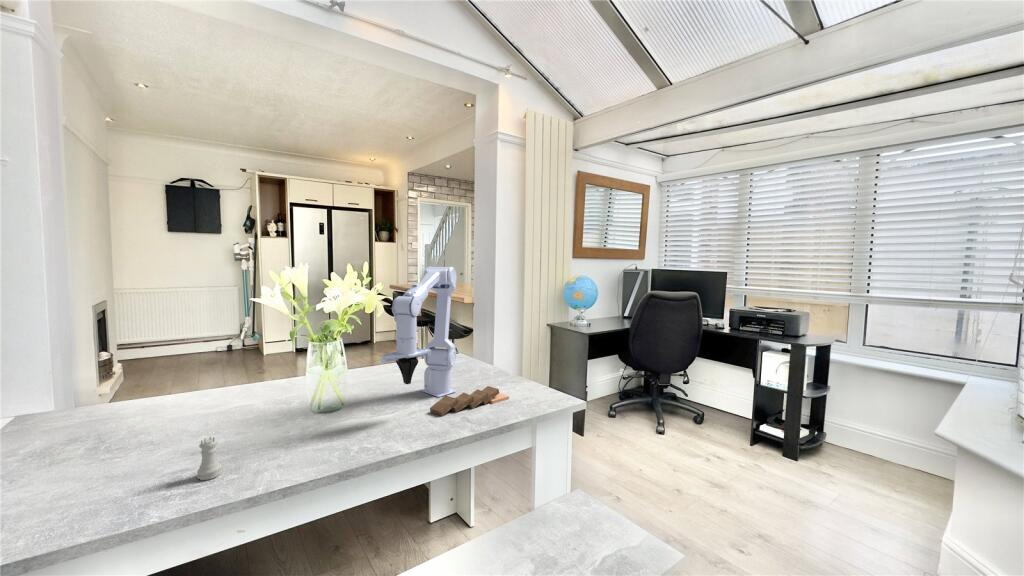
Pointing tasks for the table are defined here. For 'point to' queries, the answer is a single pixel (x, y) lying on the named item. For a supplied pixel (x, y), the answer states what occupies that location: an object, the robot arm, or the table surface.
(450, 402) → the domino
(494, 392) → the domino
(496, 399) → the domino
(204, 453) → the rook chess piece
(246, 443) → the table surface
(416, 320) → the robot arm
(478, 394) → the domino
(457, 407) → the domino
